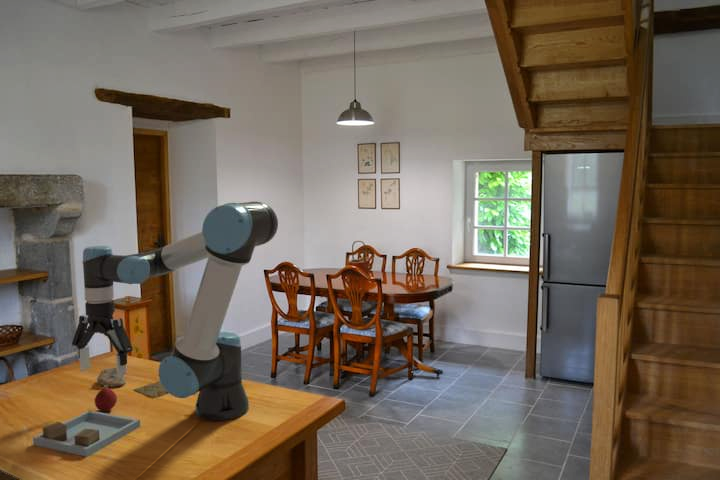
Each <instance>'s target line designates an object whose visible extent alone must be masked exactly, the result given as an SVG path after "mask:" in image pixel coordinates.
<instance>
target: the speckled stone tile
mask: <svg viewBox="0 0 720 480" xmlns="http://www.w3.org/2000/svg"><path fill="white" fill-rule="evenodd" d="M132 391H134V392H137V393H138V394H139V393H140V394H142V395H144V396H146V397H148V398H151V399H157V398H159V397H162V396H165V395H168V394H169V393H168V392H167V391H166V390H165V389H164V387H163V386H162V383H161V381H160V380H159V381H155V382H153V383H150V384H147V385H143V386H140V387H137V388H133V390H132Z"/></svg>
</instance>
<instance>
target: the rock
mask: <svg viewBox="0 0 720 480" xmlns="http://www.w3.org/2000/svg"><path fill="white" fill-rule="evenodd" d="M96 382H97V384H98V385H101V386H106V385H107V386H108V387H111V388H114V387H118V386H124V385H125V384H127V382H126V380H125V377H124V376H121V377H117V367H111V368H106V369H103V370H100V373H99V375H98V377H97V379H96Z"/></svg>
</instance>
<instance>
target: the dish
mask: <svg viewBox="0 0 720 480" xmlns="http://www.w3.org/2000/svg"><path fill="white" fill-rule="evenodd" d="M61 423H62V424H64V425H66V432H67V440H66V441H63V442H62V441H58V440H53V439H48V438H44V437H43V432H42V433H40V434H39V433H38V434H37V435H35V436H33V437H32V441H33V442H32V444H33V446H37V447H42V448H46V449H51V450H55V451H58V452H63V453H69V454H73V455H76V456H80V457H85V458H89V457H90V456H91V455H93V454H95V453H97V452H99V451H100V450H102V449H104V448H106V447H107V446H109V445H111V444H112V443H114V442H115V441H116V442H117V441H118V440H119V439H122V438H123V437H124V436H126V435H129V434H130V433H132V432H133V431H135V430H137V429H139V428H140V427H141V420H140V419H137V418H132V417H128V416H121V415H115V414H111V413H107V412H102V411H95V410H87V411H85V412H83V413H81V414H78V415H77V416H75V417H73V418H70V419H69V420H66V421H64V422H61ZM84 429H94V430H99V437H100V440H99V441H97V442H95V443H93V444H91V445H89V446H88V447H85V446H80V445H76V444H75V439H74V436H75V435H76V434H78V433H79V432H81V431H82V430H84Z"/></svg>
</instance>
